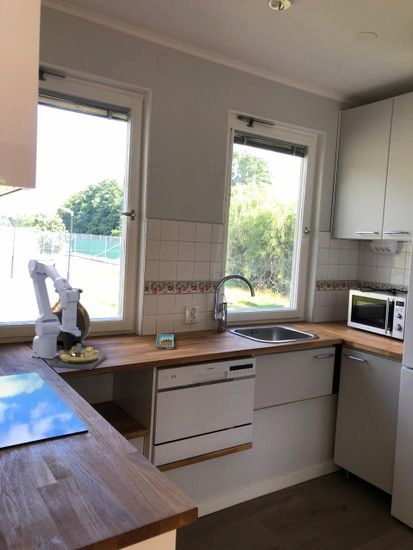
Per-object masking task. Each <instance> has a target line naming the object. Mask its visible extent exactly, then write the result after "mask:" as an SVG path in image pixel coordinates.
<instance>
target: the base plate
mask: <svg viewBox="0 0 413 550" xmlns="http://www.w3.org/2000/svg"><path fill="white" fill-rule="evenodd" d="M107 355H108V354H107V353H98V359H96V360H94V361H90V362H83V363H73V362H66V361H62V360H61V359H60V355H58V356H56V357H55V358H53V359H51V361H49V362H48V367H54V368H65V369H77V370H88V371H89V370H90V371H91V370H93V369H95V367H97V366H99V364H101V363H102V362H103V361H104V360H105V359H106V358H107V357H108V356H107ZM101 361H102V362H101Z"/></svg>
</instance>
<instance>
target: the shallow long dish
mask: <svg viewBox="0 0 413 550" xmlns="http://www.w3.org/2000/svg"><path fill="white" fill-rule="evenodd" d="M174 336H175V335H174V334H172V333H171V334H168V333H157V335H156V344H155V347H156V349H157V348H173V349H174V348H175V338H174ZM166 339H167V340H168V339H169V340H172V346H158V345H159V343H160V344H161V341H163V340H166Z"/></svg>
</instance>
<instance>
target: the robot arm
mask: <svg viewBox="0 0 413 550" xmlns="http://www.w3.org/2000/svg"><path fill="white" fill-rule="evenodd" d="M27 268H28V274H29V277H30V278H31V280H32V284H33V285H32V286H33V289H34V294H35V298H36V299H35V300H36V304H37V308H38V313H39V315H38V317H37V318H36V319H35V321H34V324H35V327H34V331H35V334H36V335H35V337H33V340H32V355H31V357H32V356H34V357H33V358H38V357H40V359H51V360H54V359H55V358H57V357H59V356H60V352H57V349H56V343H57V336H58V334H59V333H60V332H61V331H63V333H61V334H60V336H61V337H62V340H63V342H64V347H65V350H66V351H68V350H71V349H72V345H73V342H74V340H75V338H76V337H77V336H81V331H79V330H78V328H77V327H76V316H77V303H78V302H80V300H81V293H79V291H78V290H77V289H78V288H77V289H74V288H75V287H74V288H73V287H72V285H71V284H70V283H69V281H67V278H65V277H62V276H61V275H60V273H59V272H58V270H57V268H56V261H54V259H53V257H31V258H30V259H29V261H28V263H27ZM47 278H50V280H51V281H52V282H53V288H54V290H57V291H58V293H59V294H60V301H61V306H62V307H63V308H62V325H61V324H60V322H59V320H58V317H57V316H56V315H54V314H53V313H52V310H51V308H52V307H51V301H50V298H49V297H50V296H49V293H48V288H47V283H46V279H47ZM58 293H57V294H58ZM59 294H58V295H59Z"/></svg>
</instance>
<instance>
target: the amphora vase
mask: <svg viewBox="0 0 413 550" xmlns="http://www.w3.org/2000/svg"><path fill="white" fill-rule="evenodd" d="M74 289H77V290H78V291H79V293H80V294H82V293H83V292H84V290H83V289H81V288H75V287H74ZM54 292H55V293H56V294H58V296H59V297H58V298H59V299H58V301H57V302H56V303H55V304H54V305H53V306H52V307H51V310H52V313H53V314H54V315H56V316H57V317H58V320H59V322H60V324H61V325H62V308H63V307H62V306H61V301H60V294H59V293H58V291H57V290H56V289H54ZM76 327H77V328H78V330H79V331H81V336H77V337H76V338H75V340H74V342H73V345H72V346H75V344H77V343H80V344H81V348H84V346H85V344H86V343H85V341H84V340H85V339H86V338H87V337H88V336H89V334H90V332H91V318H90V315H89V313H88V311H87V309H86V307H84V306H83V304H81V302H80V301H79V302H78V303H77V316H76ZM61 333H63V331H61V332H60V333H59V334H58V336H57V343H56V350H59V351H60V350H65V347H64V342H63V340H62V337H61V336H60V334H61Z"/></svg>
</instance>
